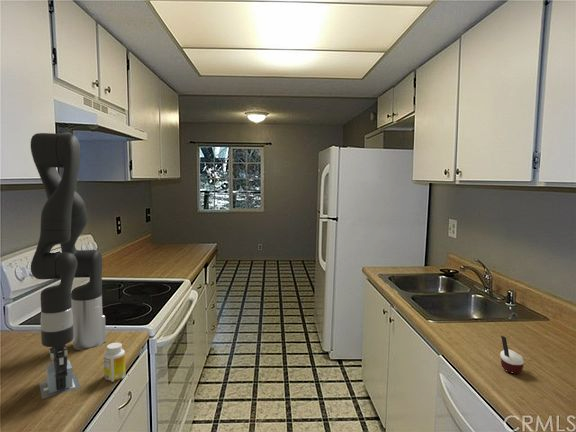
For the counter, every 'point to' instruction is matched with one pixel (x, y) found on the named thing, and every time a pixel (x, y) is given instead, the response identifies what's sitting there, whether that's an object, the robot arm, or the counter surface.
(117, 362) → the supplement bottle
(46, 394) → the board
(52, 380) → the blue block
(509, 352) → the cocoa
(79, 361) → the counter surface
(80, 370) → the counter surface
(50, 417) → the counter surface
